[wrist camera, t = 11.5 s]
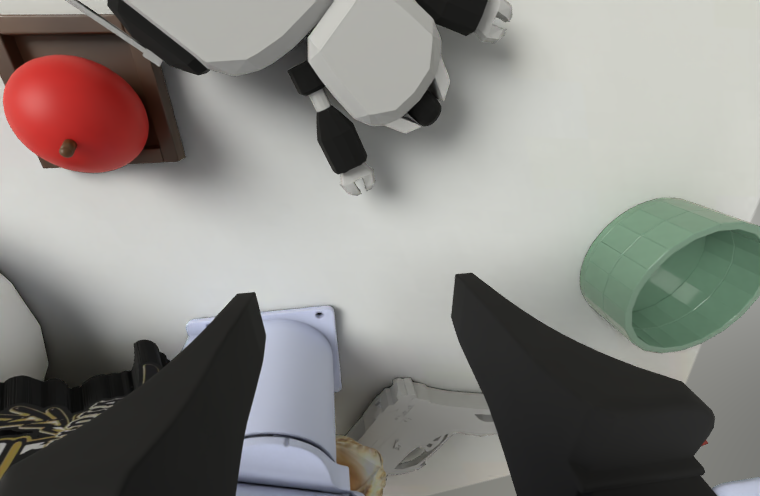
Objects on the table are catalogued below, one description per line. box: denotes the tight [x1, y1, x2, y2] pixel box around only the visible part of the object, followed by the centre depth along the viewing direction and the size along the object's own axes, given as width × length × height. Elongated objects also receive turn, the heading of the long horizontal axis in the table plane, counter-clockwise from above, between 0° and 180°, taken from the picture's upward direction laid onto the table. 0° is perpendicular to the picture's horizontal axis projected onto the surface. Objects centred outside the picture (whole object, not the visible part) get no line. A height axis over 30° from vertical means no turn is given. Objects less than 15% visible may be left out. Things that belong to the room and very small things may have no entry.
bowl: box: [580, 198, 760, 353], centre depth 24 cm, size 10×10×4 cm
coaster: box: [0, 14, 186, 168], centre depth 16 cm, size 6×6×1 cm
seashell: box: [336, 435, 386, 496], centre depth 25 cm, size 8×6×10 cm
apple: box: [3, 55, 149, 173], centre depth 14 cm, size 5×5×5 cm
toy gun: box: [346, 378, 498, 481], centre depth 33 cm, size 2×28×15 cm
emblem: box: [0, 340, 170, 480], centre depth 20 cm, size 16×2×15 cm
